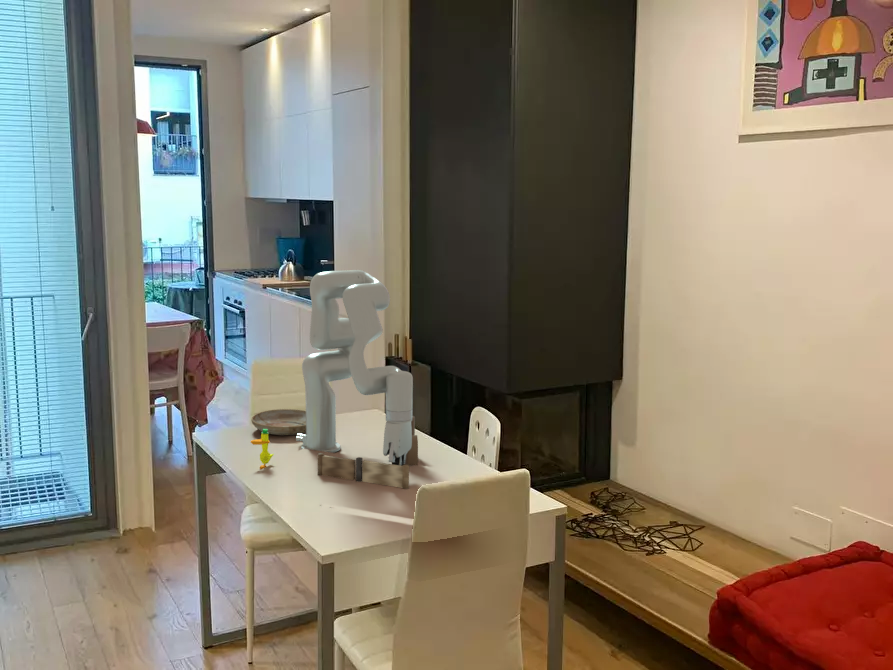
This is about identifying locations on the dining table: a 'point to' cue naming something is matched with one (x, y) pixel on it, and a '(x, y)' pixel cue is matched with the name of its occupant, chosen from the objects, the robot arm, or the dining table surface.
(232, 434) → the dining table surface
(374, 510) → the dining table surface
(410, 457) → the wooden toy
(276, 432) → the ceramic bowl
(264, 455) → the toy figure
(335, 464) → the fence fixed
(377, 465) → the fence gate
